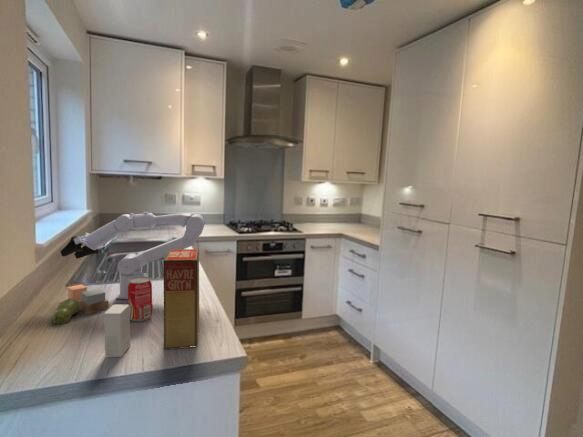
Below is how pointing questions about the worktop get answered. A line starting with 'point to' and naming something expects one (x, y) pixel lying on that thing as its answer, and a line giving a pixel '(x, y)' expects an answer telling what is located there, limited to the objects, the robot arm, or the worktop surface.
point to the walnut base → (93, 306)
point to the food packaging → (181, 298)
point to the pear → (66, 311)
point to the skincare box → (117, 330)
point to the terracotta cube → (76, 292)
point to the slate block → (93, 296)
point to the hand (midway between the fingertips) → (69, 255)
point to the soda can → (140, 298)
